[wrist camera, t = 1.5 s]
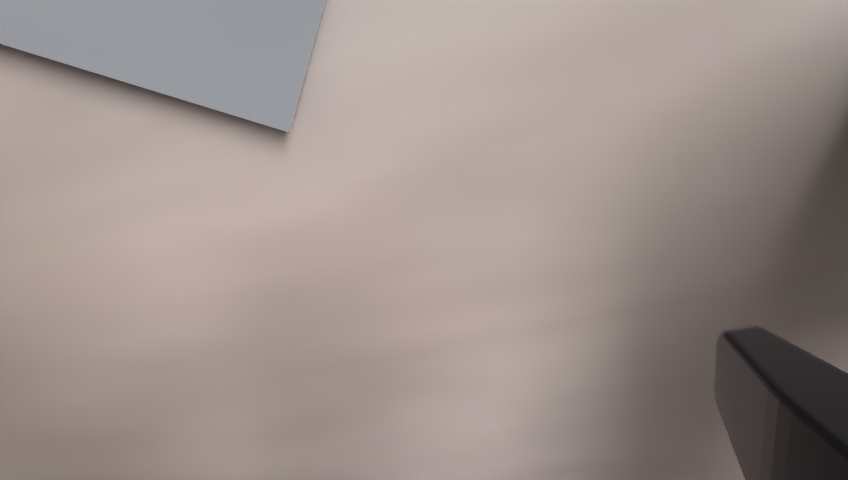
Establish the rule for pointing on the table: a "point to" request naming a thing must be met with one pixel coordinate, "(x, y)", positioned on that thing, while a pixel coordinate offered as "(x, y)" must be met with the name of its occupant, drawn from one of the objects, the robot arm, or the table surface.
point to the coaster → (180, 47)
